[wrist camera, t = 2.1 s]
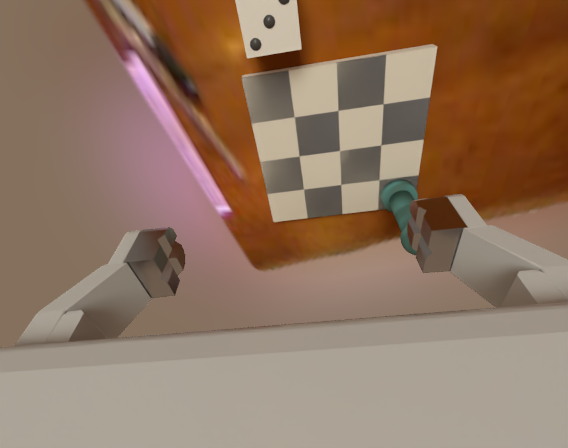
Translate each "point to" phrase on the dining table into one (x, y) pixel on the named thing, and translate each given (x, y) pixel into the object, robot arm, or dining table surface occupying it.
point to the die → (269, 26)
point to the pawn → (400, 206)
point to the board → (340, 130)
